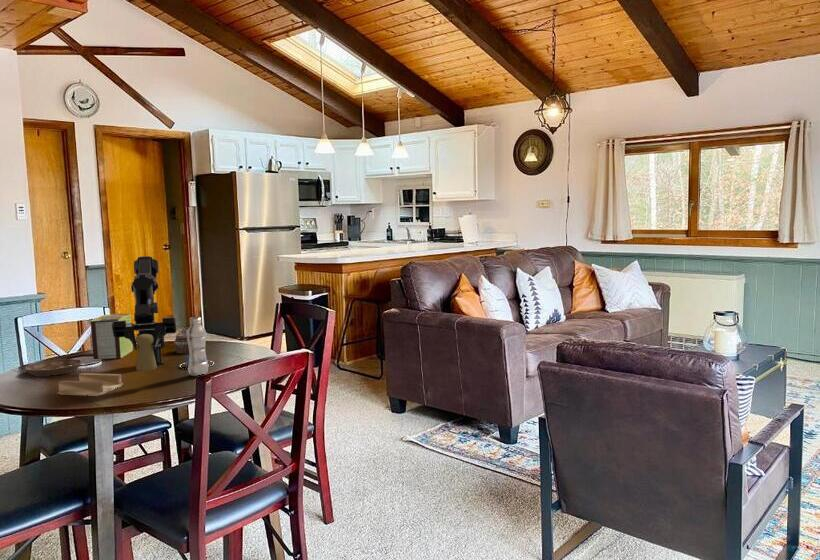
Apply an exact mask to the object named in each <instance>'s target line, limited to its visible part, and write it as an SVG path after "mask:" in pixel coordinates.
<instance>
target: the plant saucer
mask: <svg viewBox="0 0 820 560" xmlns="http://www.w3.org/2000/svg"><path fill="white" fill-rule="evenodd" d="M82 363H83V361H82V360H81V359H78V358H61V359H51V360H45V361H39V362H35V363H32V364H31V363H30V364H29V365H26V366H25V367H24V370H25V371H27V373H28V374H29V375H32V376H33V375H35V376H34V377H51V376H50V375H54V376H59V375H58V374H61V375H65V374H64V373H66V374H69V372H70V373H73V372H75V371H77V370H78V369H79V367H80V365H81V364H82ZM68 365H72V366H68ZM53 366H60V367H59V368H56V369H46V368H49V367H53ZM64 366H66V367H64ZM67 366H68V367H67ZM72 371H73V372H72Z"/></svg>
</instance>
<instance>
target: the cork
mask: <svg viewBox="0 0 820 560" xmlns="http://www.w3.org/2000/svg"><path fill="white" fill-rule="evenodd" d="M135 339H136V345H137V355H136V368H135V369H136V371H138V372H139V371H140V372H146V371H147V372H148V371H152V370H156V369H157V368H158V365H156V360H155V356H154V351H153V346H152V344H153V342H154V338H153V336H152V335H151V334H142V335H139V336H137V335H136V337H135Z"/></svg>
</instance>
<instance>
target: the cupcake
mask: <svg viewBox="0 0 820 560" xmlns="http://www.w3.org/2000/svg"><path fill="white" fill-rule="evenodd" d="M189 327H190V326H185V328H184V327H181V329H180V330H179V331H178V334H176V335H175V339H174V341H173V342H174V346H175V350H176V353H177V352H178V353H189V347H188V341H187V337H186V333H187V330H188V328H189ZM178 353H177V354H178Z"/></svg>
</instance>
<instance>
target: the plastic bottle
mask: <svg viewBox="0 0 820 560" xmlns="http://www.w3.org/2000/svg"><path fill="white" fill-rule="evenodd" d="M188 327H189V328H188V330H187V333H186V337H187V341H188V347H189V365H188V369H187V371H188V374H189V375H190V376H192V377H199V376H198V375H201V374H205V375H207V374H208V372H209V364H208V363H207V361H208V358H207V359H206V357H207V353H206V340H207V331H206V329H205V327H204V326H203V325H202V317H200V316H194V317H190V318H189V326H188ZM206 373H207V374H206Z"/></svg>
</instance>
